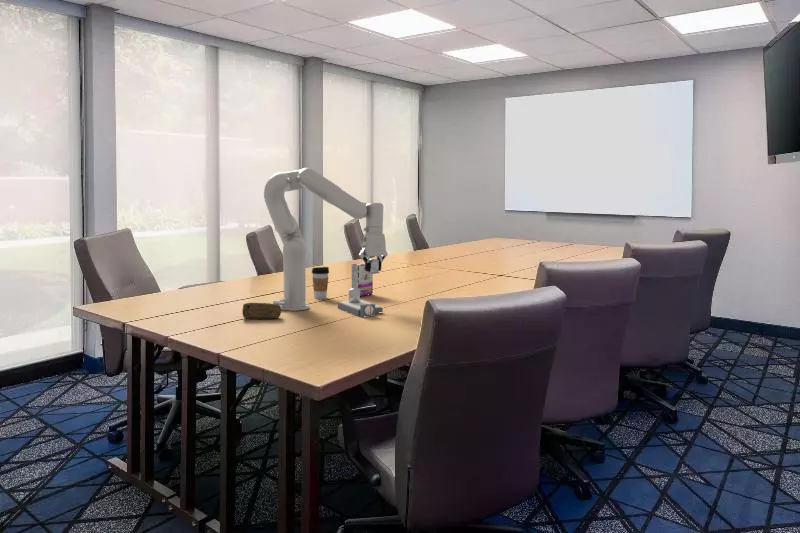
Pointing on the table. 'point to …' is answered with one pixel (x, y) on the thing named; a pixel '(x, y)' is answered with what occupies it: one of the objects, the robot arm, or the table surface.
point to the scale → (360, 308)
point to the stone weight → (261, 311)
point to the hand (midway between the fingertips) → (373, 270)
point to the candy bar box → (362, 279)
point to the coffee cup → (320, 282)
